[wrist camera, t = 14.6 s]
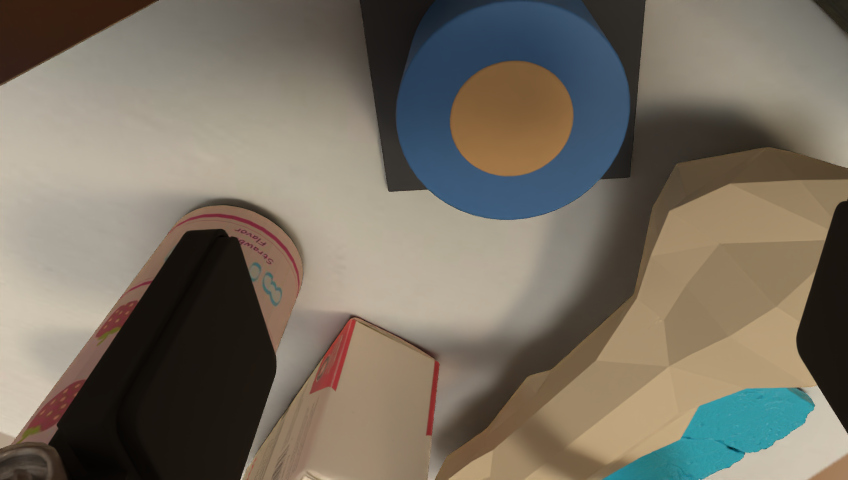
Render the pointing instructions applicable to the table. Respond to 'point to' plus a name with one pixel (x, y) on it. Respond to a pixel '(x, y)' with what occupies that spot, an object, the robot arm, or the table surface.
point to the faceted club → (677, 323)
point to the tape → (511, 105)
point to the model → (836, 11)
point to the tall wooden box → (53, 28)
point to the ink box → (357, 414)
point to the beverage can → (260, 241)
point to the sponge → (723, 434)
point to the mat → (391, 41)
